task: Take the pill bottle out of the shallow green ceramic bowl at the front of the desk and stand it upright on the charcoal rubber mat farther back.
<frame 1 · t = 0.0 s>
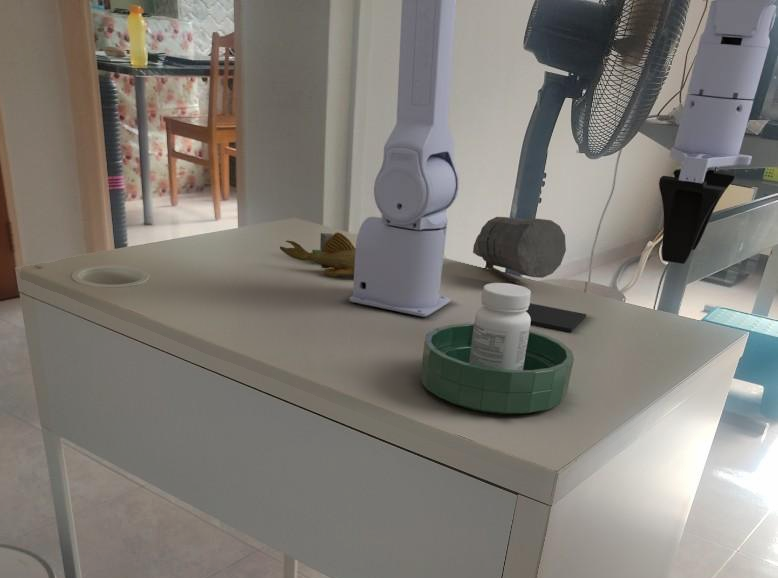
hand: (679, 254, 81), 10 cm above the table, tool pointing down, fingers open, 7 cm apart
mat: (545, 318, 95), on the table
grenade: (546, 255, 102), point 5 cm above the table
circuit board: (354, 245, 113), point 1 cm above the table
fish: (330, 273, 105), on the table
bowl: (491, 389, 74), on the table
pill bottle: (492, 386, 74), resting on bowl
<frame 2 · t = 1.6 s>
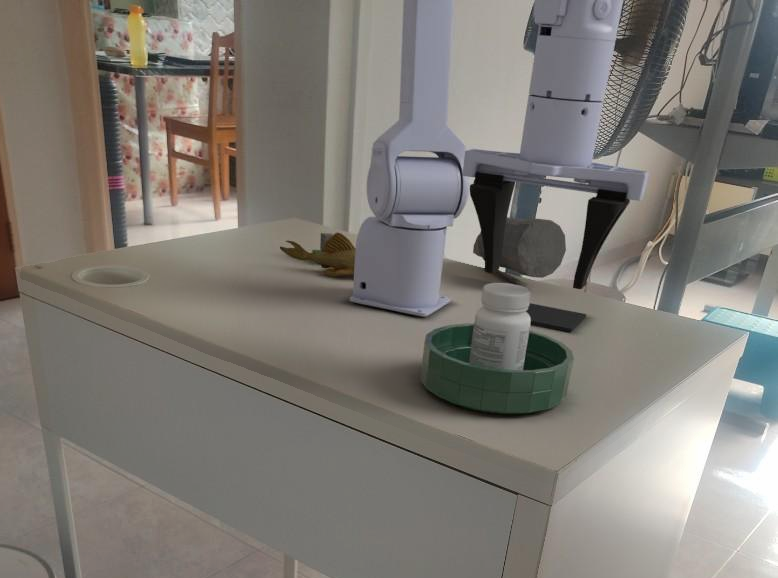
hand: (534, 278, 71), 10 cm above the table, tool pointing down, fingers open, 7 cm apart
nothing on the table moved.
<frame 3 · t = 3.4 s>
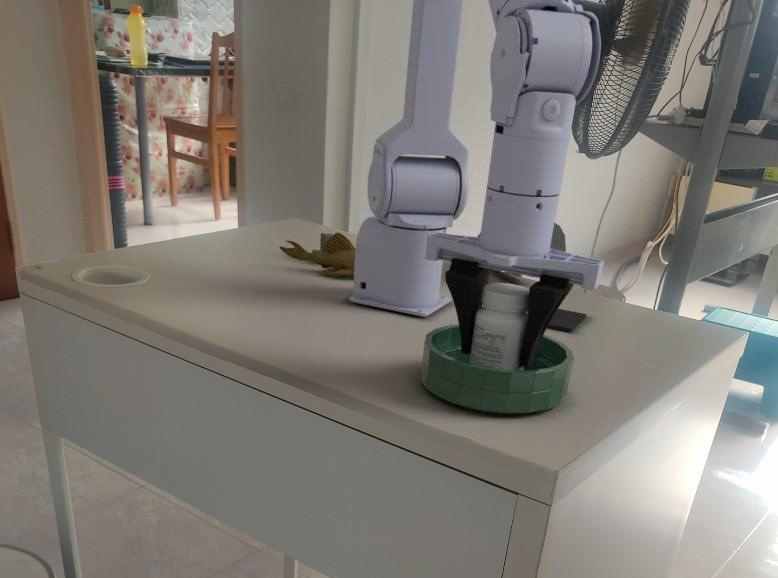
hand: (496, 357, 73), 3 cm above the table, tool pointing down, fingers closed on pill bottle, 5 cm apart
pill bottle: (492, 386, 74), resting on bowl, touching gripper
everything else where it was.
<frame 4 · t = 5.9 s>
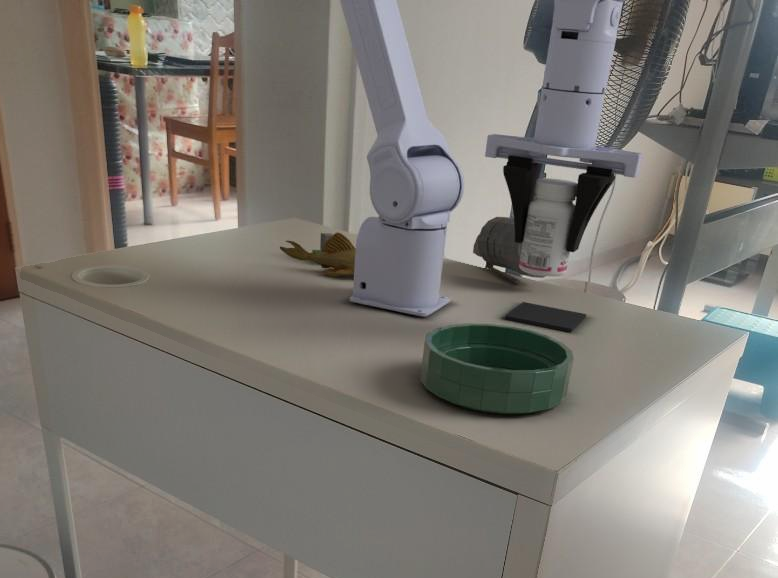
hand: (545, 245, 83), 10 cm above the table, tool pointing down, fingers closed on pill bottle, 5 cm apart
pill bottle: (541, 273, 84), point 7 cm above the table, touching gripper
everything else where it was.
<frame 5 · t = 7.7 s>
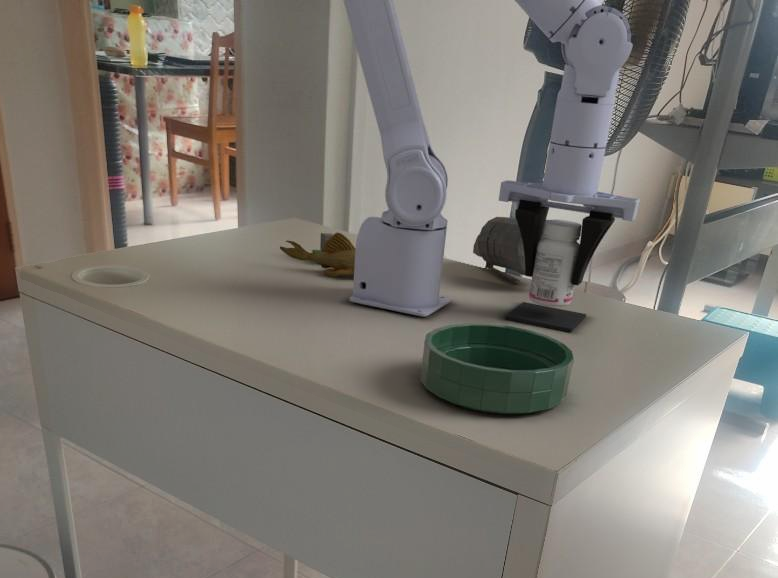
hand: (552, 278, 93), 4 cm above the table, tool pointing down, fingers closed on pill bottle, 5 cm apart
pill bottle: (548, 303, 94), point 2 cm above the table, touching gripper
everything else where it was.
when the fingers open (3 cm above the table, at t = 8.8 s): pill bottle stays where it is, resting on mat.
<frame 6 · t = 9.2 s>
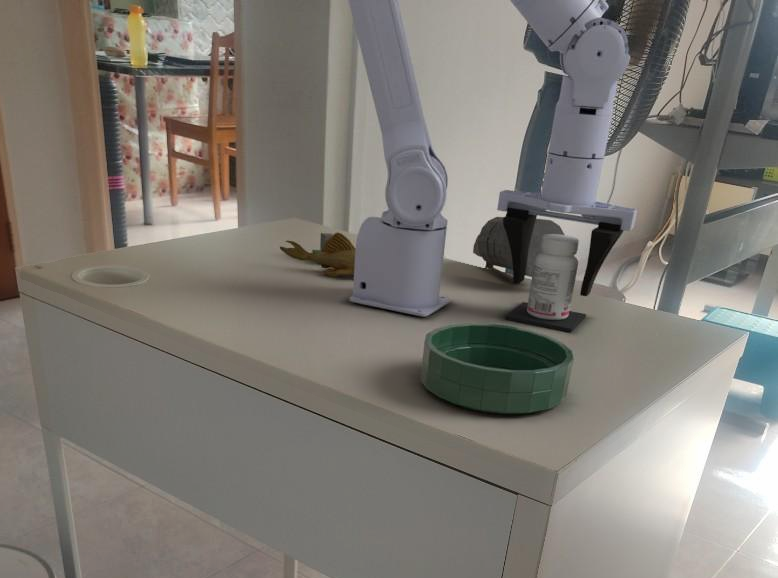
hand: (551, 287, 93), 3 cm above the table, tool pointing down, fingers open, 7 cm apart
pill bottle: (546, 316, 95), resting on mat
everything else where it was.
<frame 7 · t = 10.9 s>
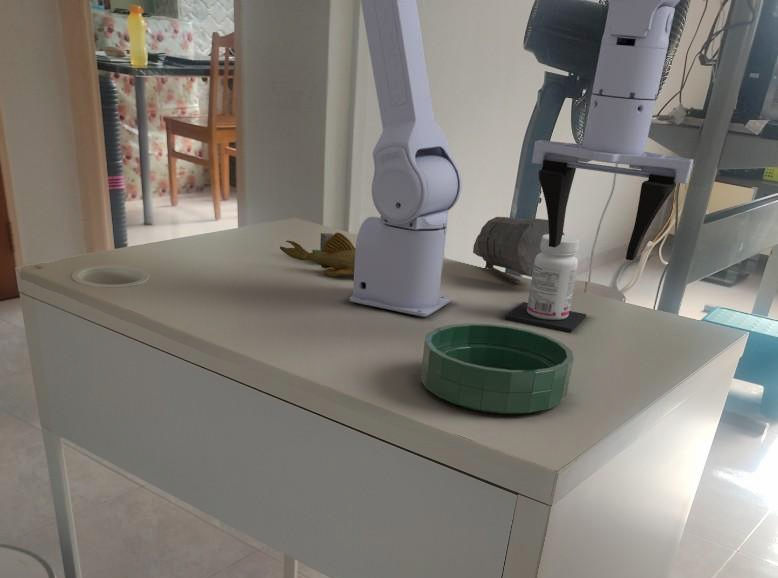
hand: (592, 251, 83), 9 cm above the table, tool pointing down, fingers open, 7 cm apart
nothing on the table moved.
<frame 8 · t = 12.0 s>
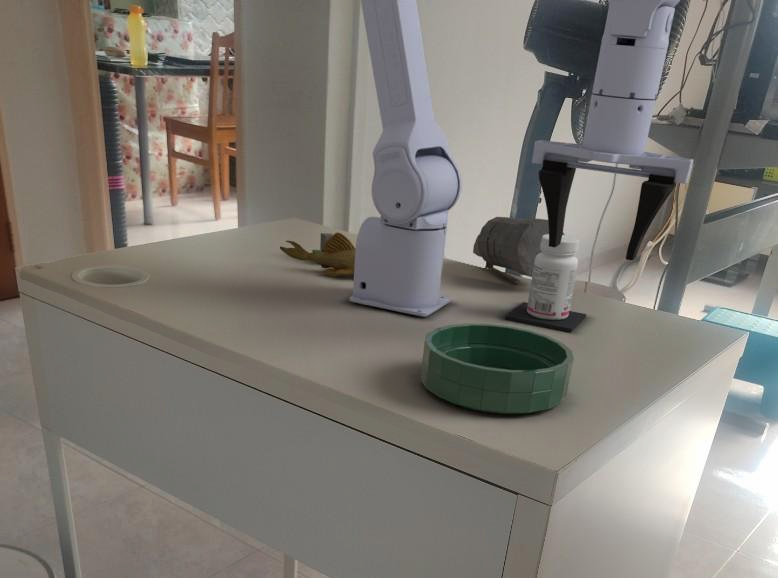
hand: (592, 251, 83), 9 cm above the table, tool pointing down, fingers open, 7 cm apart
nothing on the table moved.
at the end: pill bottle 0.0 cm off-centre on the mat, point 0.2 cm above the mat's base; pill bottle tilted 0°; pill bottle touching mat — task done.
